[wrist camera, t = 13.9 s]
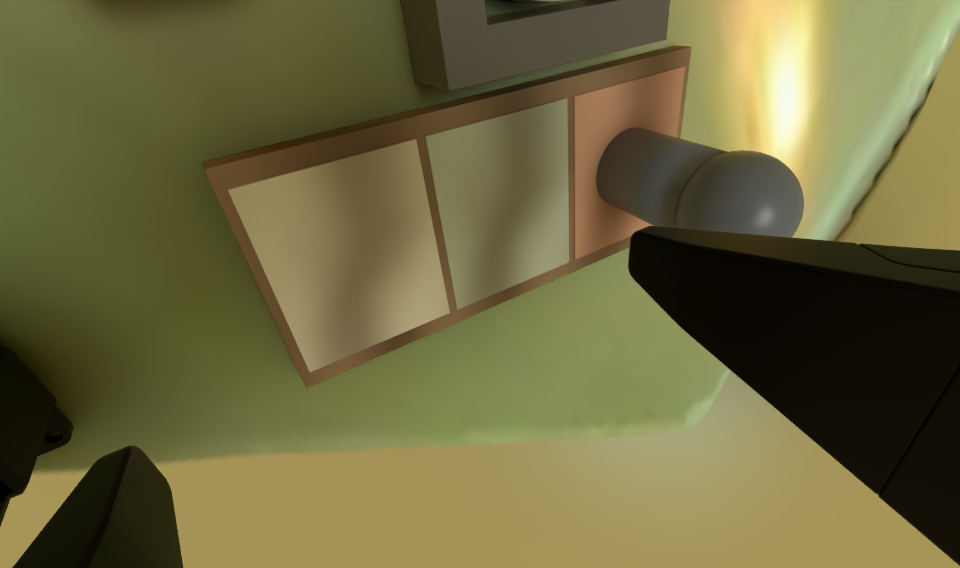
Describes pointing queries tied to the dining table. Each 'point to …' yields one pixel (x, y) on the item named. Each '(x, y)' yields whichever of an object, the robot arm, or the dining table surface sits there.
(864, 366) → the robot arm
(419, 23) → the base
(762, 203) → the pawn
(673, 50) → the game board
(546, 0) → the cream cylinder
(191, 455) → the dining table surface
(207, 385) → the dining table surface
